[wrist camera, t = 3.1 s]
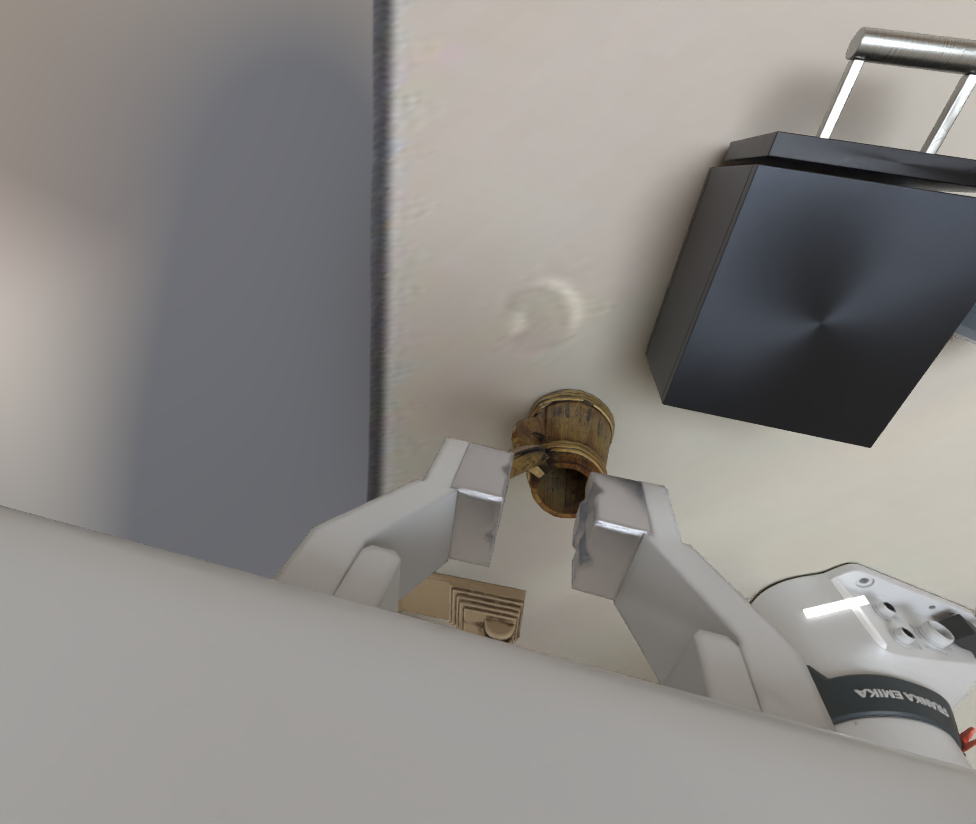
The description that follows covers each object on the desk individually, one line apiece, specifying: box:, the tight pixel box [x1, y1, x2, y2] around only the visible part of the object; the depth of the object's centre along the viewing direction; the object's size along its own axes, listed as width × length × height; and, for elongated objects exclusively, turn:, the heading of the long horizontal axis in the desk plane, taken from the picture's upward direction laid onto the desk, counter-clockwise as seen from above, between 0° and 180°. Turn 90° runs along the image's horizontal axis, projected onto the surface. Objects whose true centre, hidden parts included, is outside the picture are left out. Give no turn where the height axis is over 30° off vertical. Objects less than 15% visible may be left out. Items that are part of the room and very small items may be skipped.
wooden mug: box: [507, 389, 615, 518], centre depth 38 cm, size 9×14×18 cm, turn 45°
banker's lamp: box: [398, 573, 526, 644], centre depth 48 cm, size 16×21×35 cm
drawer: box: [724, 27, 976, 193], centre depth 29 cm, size 20×13×9 cm
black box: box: [645, 164, 976, 448], centre depth 32 cm, size 16×15×11 cm
